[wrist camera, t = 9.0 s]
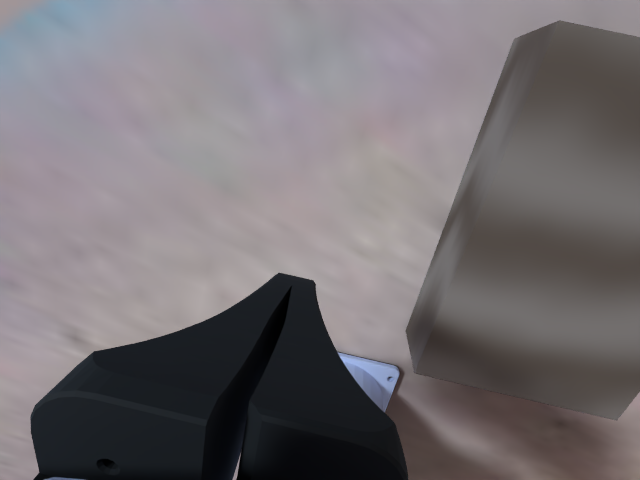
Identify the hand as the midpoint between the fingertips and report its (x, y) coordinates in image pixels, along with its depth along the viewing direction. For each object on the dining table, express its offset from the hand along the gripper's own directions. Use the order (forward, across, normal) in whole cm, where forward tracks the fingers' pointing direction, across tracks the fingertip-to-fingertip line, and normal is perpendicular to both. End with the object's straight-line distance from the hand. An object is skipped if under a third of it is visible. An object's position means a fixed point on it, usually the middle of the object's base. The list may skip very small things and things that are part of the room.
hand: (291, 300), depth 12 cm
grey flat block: (+10, -14, -2) cm, 17 cm away
